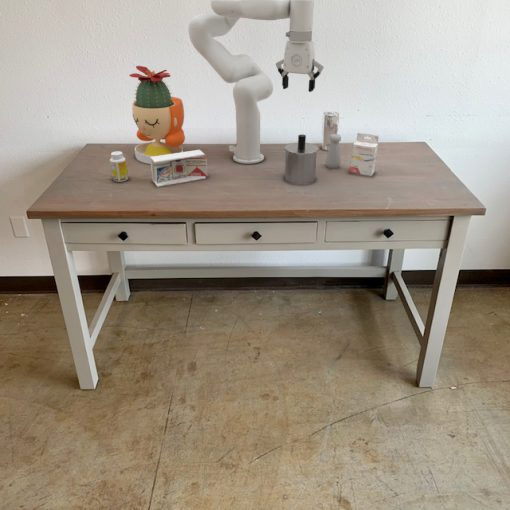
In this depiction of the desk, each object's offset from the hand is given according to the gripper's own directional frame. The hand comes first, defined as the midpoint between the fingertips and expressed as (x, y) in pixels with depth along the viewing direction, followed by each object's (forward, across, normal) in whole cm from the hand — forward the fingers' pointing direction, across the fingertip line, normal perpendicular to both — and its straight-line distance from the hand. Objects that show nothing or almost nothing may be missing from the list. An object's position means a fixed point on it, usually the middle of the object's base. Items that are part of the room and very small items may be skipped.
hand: (298, 89), depth 170 cm
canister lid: (+19, +5, -7) cm, 21 cm away
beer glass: (+31, +3, +31) cm, 44 cm away
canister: (+30, +5, -7) cm, 31 cm away
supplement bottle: (+31, -54, -37) cm, 72 cm away
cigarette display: (+31, -34, -27) cm, 53 cm away
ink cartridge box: (+31, +24, +9) cm, 40 cm away
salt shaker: (+31, +12, +10) cm, 34 cm away
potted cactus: (+31, -56, -8) cm, 64 cm away
